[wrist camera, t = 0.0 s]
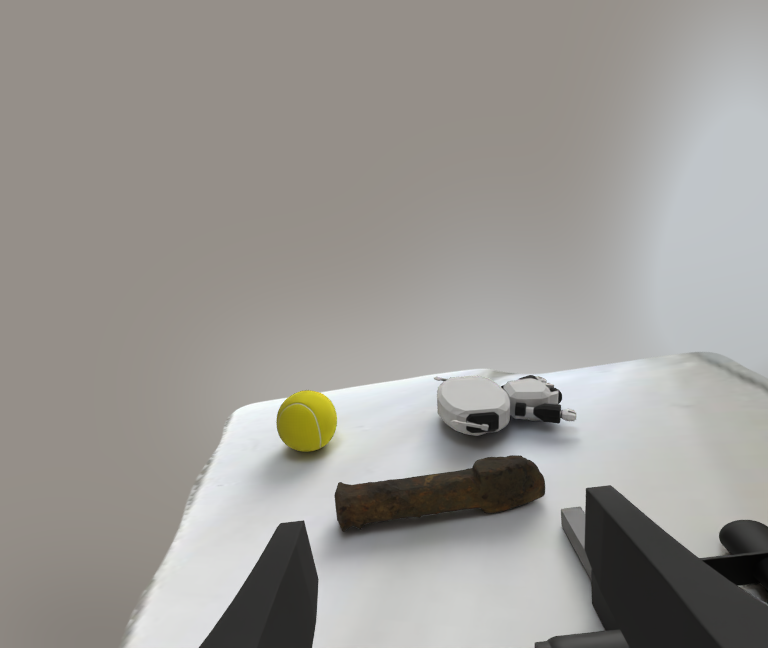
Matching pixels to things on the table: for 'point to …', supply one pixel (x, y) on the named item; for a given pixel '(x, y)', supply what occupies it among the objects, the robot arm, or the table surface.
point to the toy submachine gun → (741, 538)
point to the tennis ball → (306, 421)
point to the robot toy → (497, 403)
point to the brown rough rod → (442, 492)
